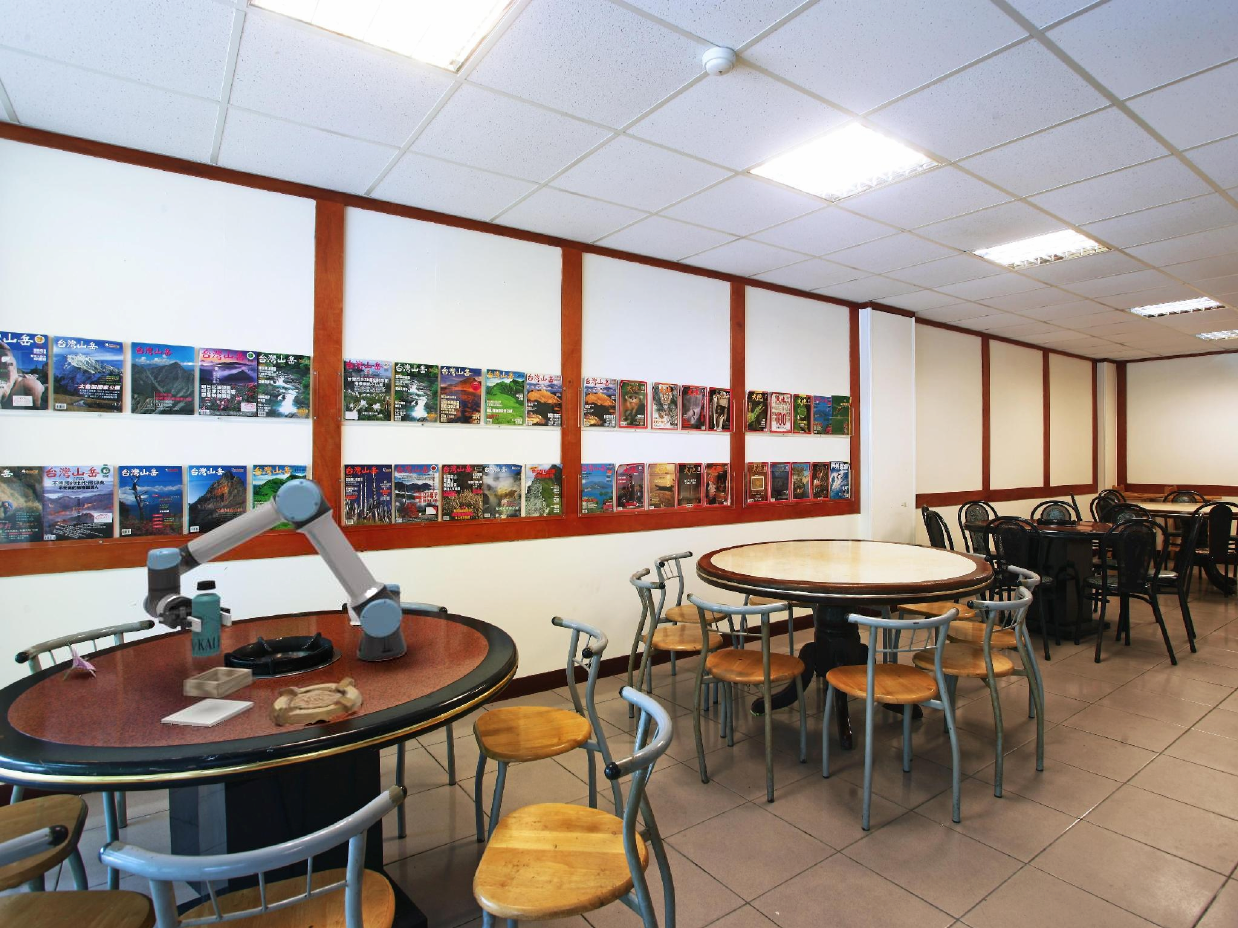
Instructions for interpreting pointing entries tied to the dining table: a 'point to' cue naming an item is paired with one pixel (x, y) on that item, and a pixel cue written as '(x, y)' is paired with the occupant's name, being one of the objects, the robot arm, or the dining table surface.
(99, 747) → the dining table surface
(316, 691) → the ashtray
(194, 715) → the rubber mat
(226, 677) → the wooden tray
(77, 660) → the lily
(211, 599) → the beverage bottle
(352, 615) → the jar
